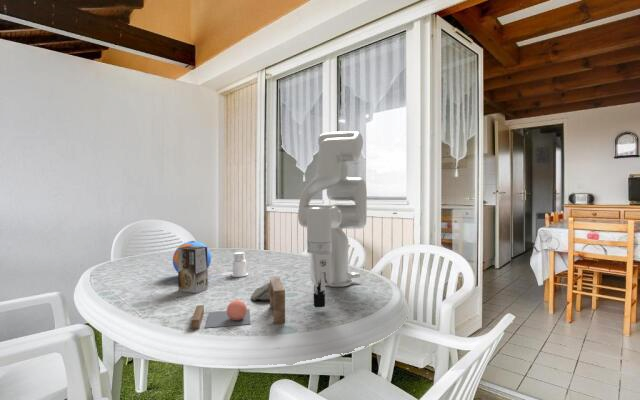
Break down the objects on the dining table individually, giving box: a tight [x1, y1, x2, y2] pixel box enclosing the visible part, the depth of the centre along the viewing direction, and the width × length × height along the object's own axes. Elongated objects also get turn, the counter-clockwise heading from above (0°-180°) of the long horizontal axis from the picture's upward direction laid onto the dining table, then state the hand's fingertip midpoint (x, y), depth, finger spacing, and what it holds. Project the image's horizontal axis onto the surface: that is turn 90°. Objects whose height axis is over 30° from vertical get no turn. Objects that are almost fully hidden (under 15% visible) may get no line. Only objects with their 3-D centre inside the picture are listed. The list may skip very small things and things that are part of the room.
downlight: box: [231, 251, 249, 278], centre depth 151 cm, size 8×7×10 cm
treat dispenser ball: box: [172, 240, 212, 273], centre depth 149 cm, size 16×15×15 cm
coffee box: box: [177, 246, 209, 294], centre depth 129 cm, size 9×6×16 cm
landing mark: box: [204, 308, 251, 329], centre depth 100 cm, size 12×12×1 cm
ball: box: [226, 299, 248, 321], centre depth 99 cm, size 6×6×6 cm
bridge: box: [269, 277, 286, 325], centre depth 103 cm, size 3×15×9 cm, turn 13°
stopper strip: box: [190, 304, 205, 330], centre depth 98 cm, size 2×12×2 cm, turn 13°
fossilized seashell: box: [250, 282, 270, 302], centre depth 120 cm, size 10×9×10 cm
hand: (319, 306), depth 106 cm, fingers closed
